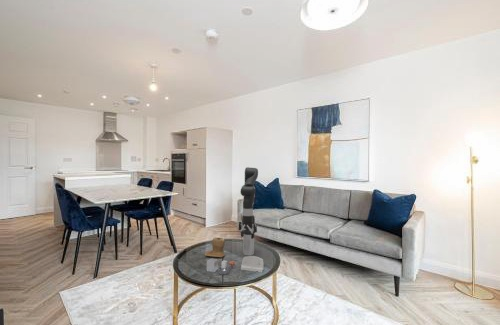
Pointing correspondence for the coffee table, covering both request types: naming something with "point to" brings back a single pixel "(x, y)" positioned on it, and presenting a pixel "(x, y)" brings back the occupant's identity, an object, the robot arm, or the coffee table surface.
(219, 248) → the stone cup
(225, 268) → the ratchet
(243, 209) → the robot arm
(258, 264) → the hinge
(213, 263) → the socket
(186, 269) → the coffee table surface
